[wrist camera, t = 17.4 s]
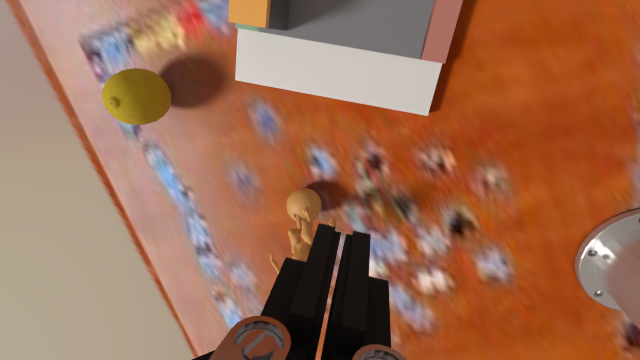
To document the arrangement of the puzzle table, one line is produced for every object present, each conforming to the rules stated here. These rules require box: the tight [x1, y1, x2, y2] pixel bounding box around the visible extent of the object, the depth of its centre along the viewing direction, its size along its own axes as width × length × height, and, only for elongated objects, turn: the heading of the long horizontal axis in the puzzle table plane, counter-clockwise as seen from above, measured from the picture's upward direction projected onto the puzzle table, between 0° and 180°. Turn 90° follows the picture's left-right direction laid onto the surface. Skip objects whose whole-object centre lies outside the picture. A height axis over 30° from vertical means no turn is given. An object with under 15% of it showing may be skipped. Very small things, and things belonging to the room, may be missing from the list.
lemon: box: [102, 68, 171, 125], centre depth 35 cm, size 6×6×8 cm
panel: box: [235, 0, 463, 116], centre depth 32 cm, size 20×16×1 cm
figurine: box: [270, 188, 336, 274], centre depth 35 cm, size 8×6×12 cm
